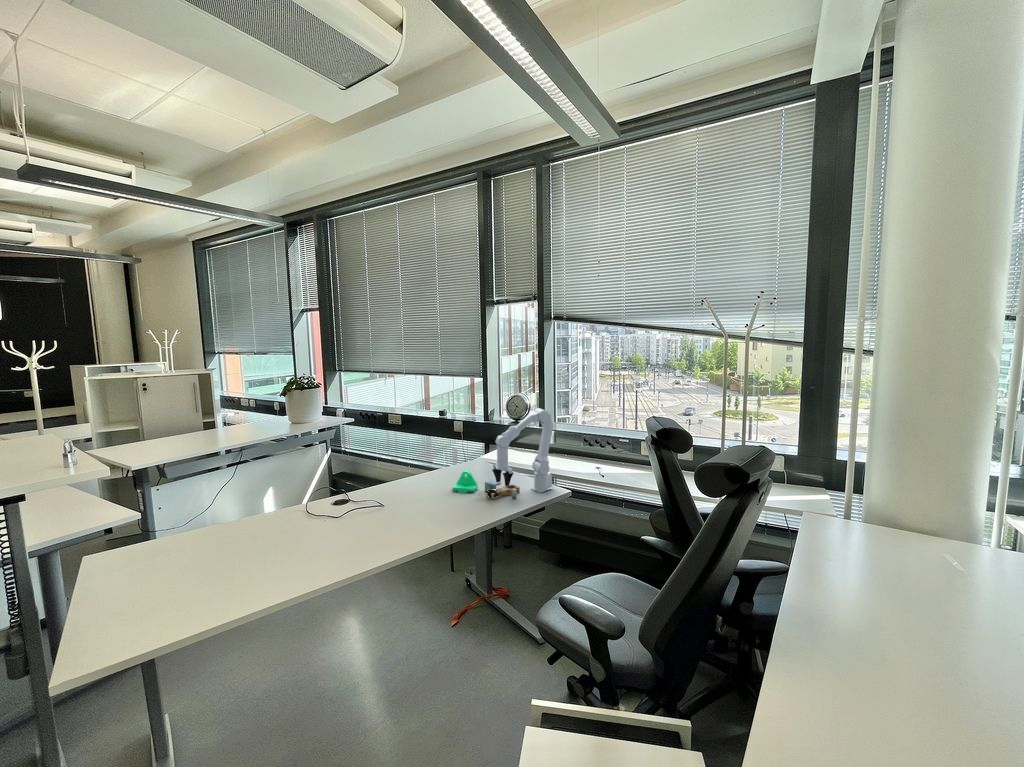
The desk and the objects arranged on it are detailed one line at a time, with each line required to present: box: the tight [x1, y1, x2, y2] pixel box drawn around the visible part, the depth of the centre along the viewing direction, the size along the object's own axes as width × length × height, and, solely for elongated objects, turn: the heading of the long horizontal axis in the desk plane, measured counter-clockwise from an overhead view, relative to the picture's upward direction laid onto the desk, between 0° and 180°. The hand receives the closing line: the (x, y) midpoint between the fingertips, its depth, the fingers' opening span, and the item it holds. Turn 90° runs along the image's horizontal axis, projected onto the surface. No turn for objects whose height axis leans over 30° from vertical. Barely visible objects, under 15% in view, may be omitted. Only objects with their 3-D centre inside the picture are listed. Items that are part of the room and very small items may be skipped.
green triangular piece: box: [452, 469, 479, 494], centre depth 242 cm, size 12×8×10 cm, turn 77°
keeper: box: [484, 479, 502, 492], centre depth 239 cm, size 7×5×5 cm
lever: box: [486, 483, 521, 500], centre depth 235 cm, size 17×6×3 cm, turn 129°
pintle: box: [511, 489, 518, 499], centre depth 230 cm, size 2×2×4 cm
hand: (502, 483), depth 234 cm, fingers open, 7 cm apart
